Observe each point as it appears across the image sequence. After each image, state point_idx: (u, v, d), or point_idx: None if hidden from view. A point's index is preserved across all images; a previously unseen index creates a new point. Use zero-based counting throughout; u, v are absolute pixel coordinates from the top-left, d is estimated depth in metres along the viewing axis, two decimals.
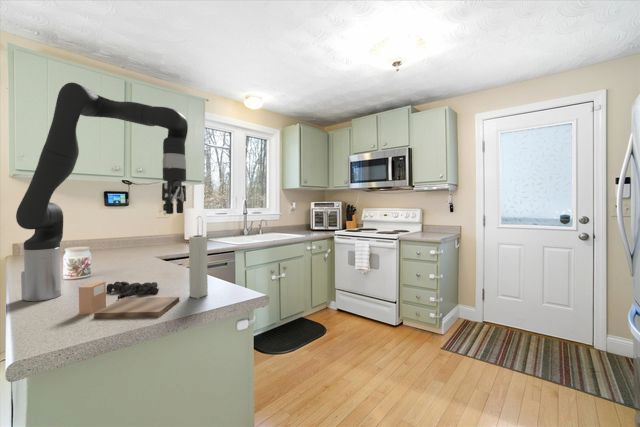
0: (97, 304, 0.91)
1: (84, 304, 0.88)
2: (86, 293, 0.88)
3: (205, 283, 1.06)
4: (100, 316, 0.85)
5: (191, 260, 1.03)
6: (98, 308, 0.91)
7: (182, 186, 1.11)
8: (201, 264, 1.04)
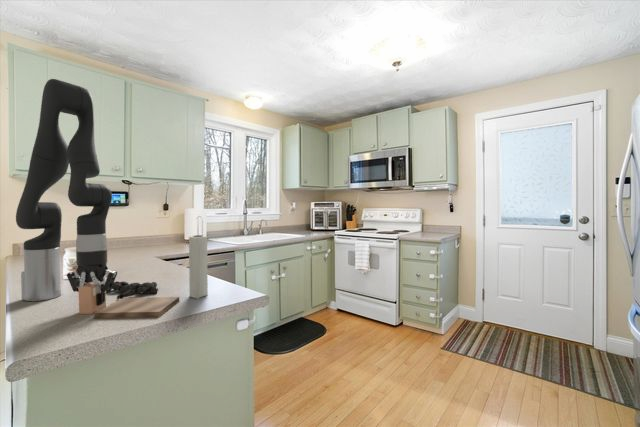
0: None
1: (84, 304, 0.88)
2: (86, 293, 0.88)
3: (205, 283, 1.06)
4: (100, 316, 0.85)
5: (191, 260, 1.03)
6: (98, 308, 0.91)
7: None
8: (201, 264, 1.04)
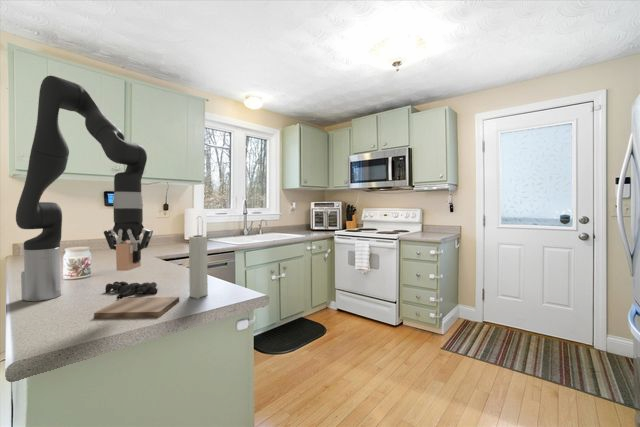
0: None
1: (121, 261, 0.88)
2: (123, 250, 0.88)
3: (205, 283, 1.06)
4: (100, 316, 0.85)
5: (191, 260, 1.03)
6: (134, 266, 0.92)
7: None
8: (201, 264, 1.04)
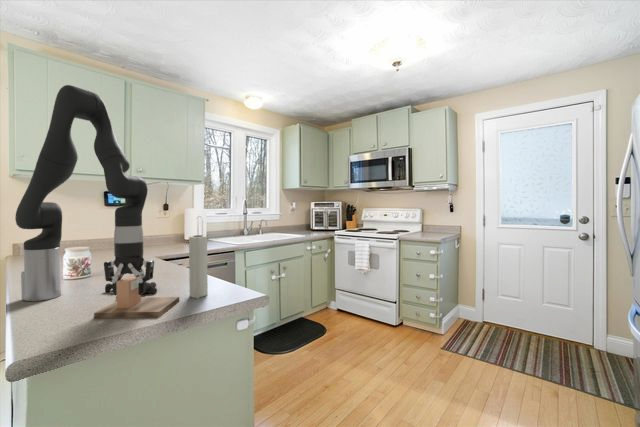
0: (133, 298, 0.91)
1: (122, 298, 0.89)
2: (124, 287, 0.89)
3: (205, 283, 1.06)
4: (100, 316, 0.85)
5: (191, 260, 1.03)
6: (134, 302, 0.92)
7: None
8: (201, 264, 1.04)
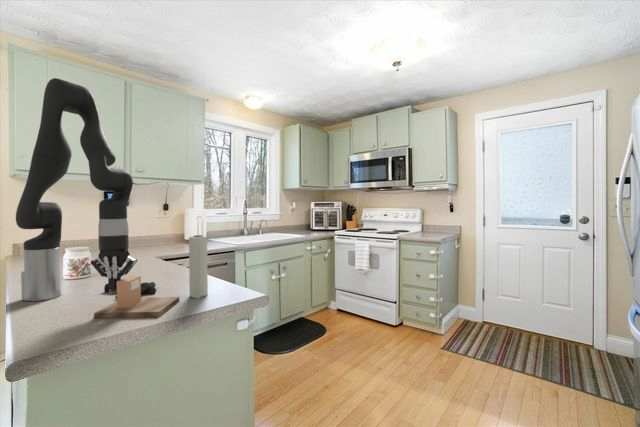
0: (133, 298, 0.91)
1: (122, 298, 0.89)
2: (124, 287, 0.89)
3: (205, 283, 1.06)
4: (100, 316, 0.85)
5: (191, 260, 1.03)
6: (134, 302, 0.92)
7: None
8: (201, 264, 1.04)
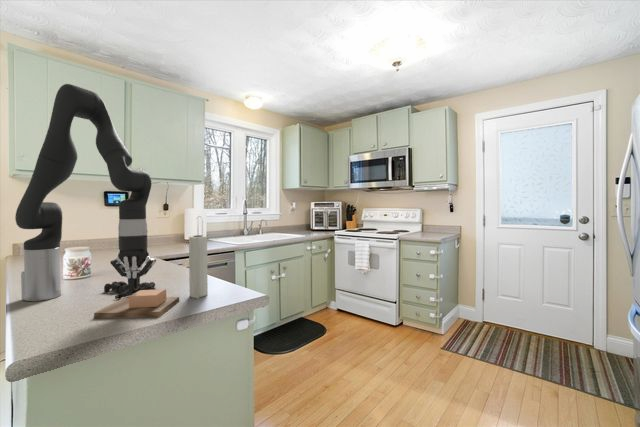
0: None
1: (138, 301, 0.89)
2: (150, 302, 0.89)
3: (205, 283, 1.06)
4: (100, 316, 0.85)
5: (191, 260, 1.03)
6: None
7: None
8: (201, 264, 1.04)
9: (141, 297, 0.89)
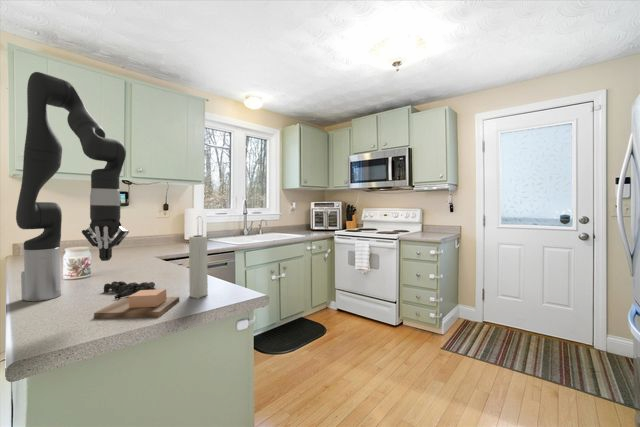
0: None
1: (138, 301, 0.89)
2: (150, 302, 0.89)
3: (205, 283, 1.06)
4: (100, 316, 0.85)
5: (191, 260, 1.03)
6: None
7: None
8: (201, 264, 1.04)
9: (141, 297, 0.89)
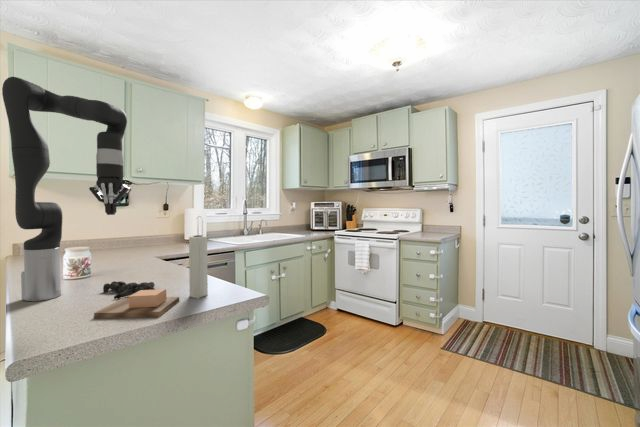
0: None
1: (138, 301, 0.89)
2: (150, 302, 0.89)
3: (205, 283, 1.06)
4: (100, 316, 0.85)
5: (191, 260, 1.03)
6: None
7: None
8: (201, 264, 1.04)
9: (141, 297, 0.89)
